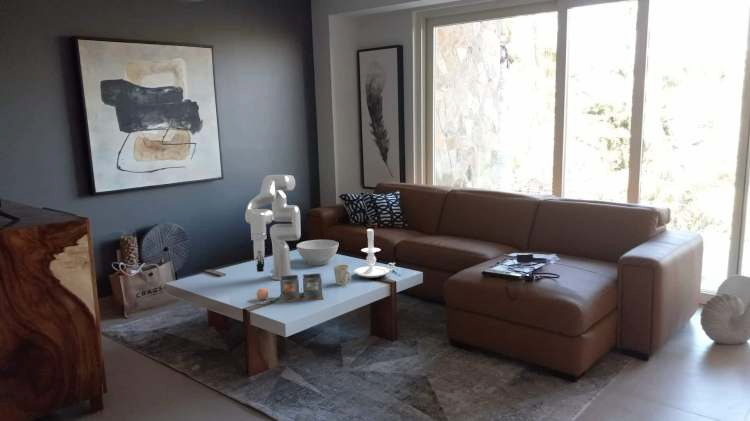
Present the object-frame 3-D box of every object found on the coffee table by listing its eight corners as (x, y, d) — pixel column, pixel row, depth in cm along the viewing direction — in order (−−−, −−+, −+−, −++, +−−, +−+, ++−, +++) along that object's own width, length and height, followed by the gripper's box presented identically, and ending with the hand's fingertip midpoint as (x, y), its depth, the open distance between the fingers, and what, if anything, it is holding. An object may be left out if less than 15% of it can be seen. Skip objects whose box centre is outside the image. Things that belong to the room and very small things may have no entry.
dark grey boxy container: (280, 302, 299) (278, 281, 298) (280, 295, 310) (279, 275, 308) (323, 299, 303) (322, 278, 301) (322, 292, 313) (321, 272, 311)
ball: (254, 300, 303) (253, 288, 302) (263, 297, 308) (262, 286, 307) (262, 302, 299) (261, 290, 298) (271, 299, 304) (270, 287, 303)
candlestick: (390, 282, 329) (389, 233, 324) (348, 280, 336) (347, 231, 332) (400, 272, 348) (399, 226, 344) (360, 270, 356) (358, 224, 351)
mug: (342, 280, 335) (341, 263, 333) (357, 284, 326) (356, 267, 325) (331, 283, 329) (330, 266, 328) (346, 288, 320) (345, 270, 319)
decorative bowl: (347, 260, 381) (347, 241, 379) (322, 270, 359) (321, 250, 357) (314, 255, 395) (313, 238, 393) (288, 265, 373) (287, 246, 371)
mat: (247, 301, 302) (247, 300, 302) (263, 295, 311) (263, 295, 311) (262, 305, 296) (262, 304, 296) (278, 299, 305) (278, 298, 305)
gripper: (252, 233, 306) (254, 265, 308) (250, 239, 289) (252, 273, 291) (266, 232, 307) (268, 264, 309) (265, 239, 290) (267, 273, 293)
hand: (260, 269), depth 300 cm, fingers open, 9 cm apart
